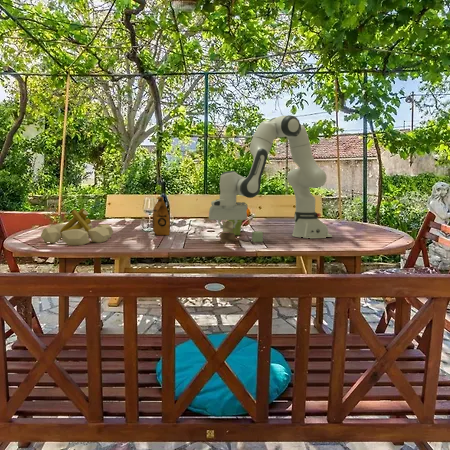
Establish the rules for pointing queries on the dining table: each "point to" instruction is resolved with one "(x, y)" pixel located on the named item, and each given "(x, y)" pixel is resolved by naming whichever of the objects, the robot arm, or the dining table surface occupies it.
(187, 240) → the dining table surface
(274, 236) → the dining table surface
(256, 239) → the green cube
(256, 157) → the robot arm
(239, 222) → the plant pot
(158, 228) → the coffee package
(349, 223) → the dining table surface
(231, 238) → the brown square block
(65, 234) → the campfire
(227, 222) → the birch cube
